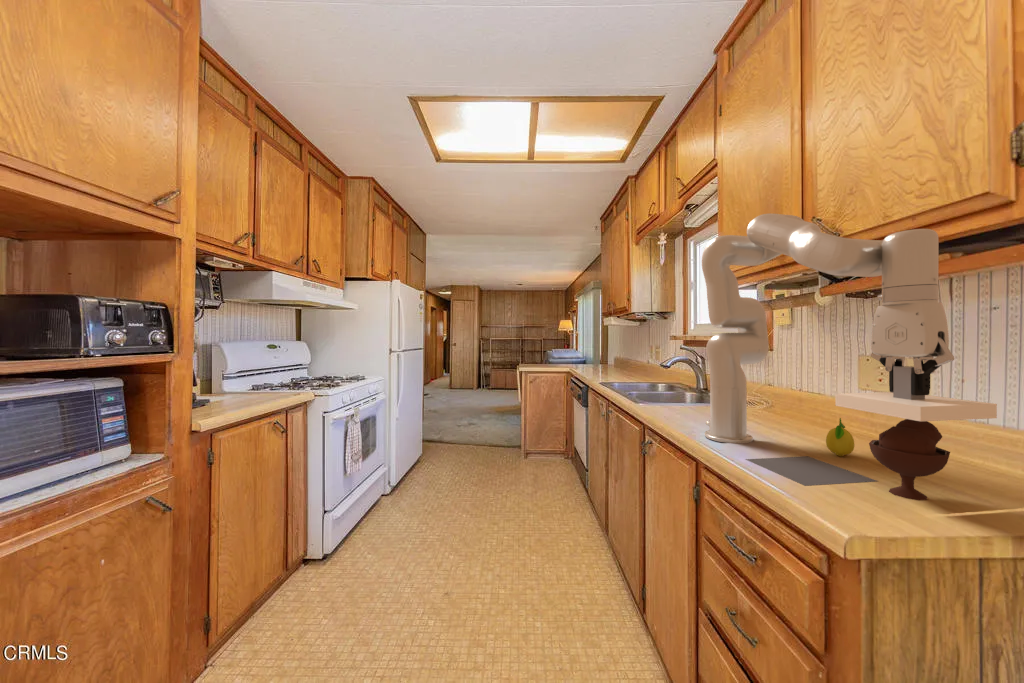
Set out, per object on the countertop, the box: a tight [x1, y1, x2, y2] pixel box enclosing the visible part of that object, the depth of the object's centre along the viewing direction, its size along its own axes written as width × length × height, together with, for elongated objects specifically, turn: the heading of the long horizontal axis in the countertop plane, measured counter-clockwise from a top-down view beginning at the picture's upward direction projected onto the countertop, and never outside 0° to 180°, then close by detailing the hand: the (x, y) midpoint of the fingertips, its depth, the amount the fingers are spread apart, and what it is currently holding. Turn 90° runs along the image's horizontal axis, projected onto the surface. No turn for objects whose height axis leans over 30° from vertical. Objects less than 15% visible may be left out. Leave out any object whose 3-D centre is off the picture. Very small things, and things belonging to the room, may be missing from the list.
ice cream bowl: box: [868, 418, 951, 501], centre depth 74 cm, size 11×11×15 cm
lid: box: [834, 365, 998, 422], centre depth 74 cm, size 15×15×8 cm
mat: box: [744, 455, 879, 487], centre depth 88 cm, size 17×17×1 cm
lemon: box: [825, 417, 855, 457], centre depth 98 cm, size 7×6×10 cm
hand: (908, 392), depth 74 cm, fingers closed on lid, 3 cm apart
